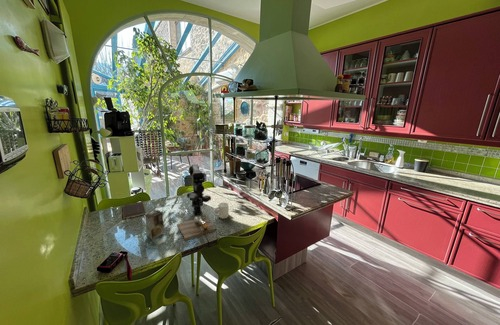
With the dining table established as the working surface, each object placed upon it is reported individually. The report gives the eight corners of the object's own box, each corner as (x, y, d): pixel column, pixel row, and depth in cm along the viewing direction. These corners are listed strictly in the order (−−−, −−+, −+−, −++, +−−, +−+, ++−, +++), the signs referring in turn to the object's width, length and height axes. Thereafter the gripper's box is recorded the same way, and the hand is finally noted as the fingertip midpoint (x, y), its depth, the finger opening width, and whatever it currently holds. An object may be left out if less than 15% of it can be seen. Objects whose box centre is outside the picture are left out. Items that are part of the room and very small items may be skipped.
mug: (215, 220, 159) (214, 208, 157) (212, 215, 167) (212, 204, 164) (229, 217, 164) (229, 206, 161) (226, 213, 171) (226, 201, 169)
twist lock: (193, 221, 153) (193, 216, 152) (199, 219, 156) (199, 214, 155) (203, 231, 142) (202, 225, 141) (209, 228, 145) (209, 223, 144)
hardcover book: (143, 204, 185) (142, 201, 185) (145, 214, 166) (145, 212, 166) (122, 208, 177) (122, 205, 176) (122, 220, 158) (122, 217, 157)
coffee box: (160, 229, 145) (158, 209, 141) (164, 233, 142) (162, 212, 137) (147, 235, 139) (144, 214, 134) (151, 239, 135) (149, 217, 131)
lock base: (177, 226, 151) (177, 224, 150) (205, 217, 163) (205, 216, 162) (185, 240, 135) (185, 238, 134) (215, 230, 147) (215, 228, 146)
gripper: (181, 189, 148) (182, 208, 152) (201, 194, 140) (202, 214, 144) (191, 184, 158) (192, 202, 162) (211, 189, 150) (211, 208, 154)
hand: (199, 207), depth 155 cm, fingers closed
